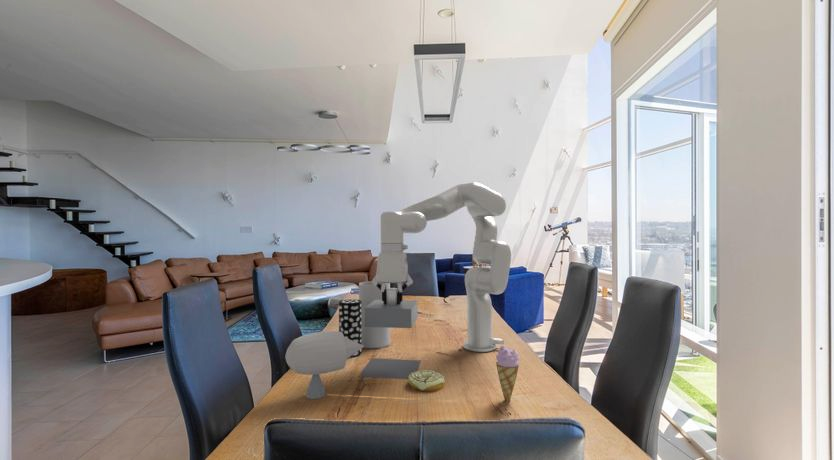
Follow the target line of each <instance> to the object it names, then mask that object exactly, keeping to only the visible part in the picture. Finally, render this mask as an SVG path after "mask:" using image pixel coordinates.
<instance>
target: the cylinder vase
mask: <svg viewBox="0 0 834 460" xmlns="http://www.w3.org/2000/svg"><path fill="white" fill-rule="evenodd" d="M379 283H380V282H379ZM381 284H382V283H381ZM388 288H391V283H387V286H386V289H388ZM358 300H361V302H362V345H363V346H364V347H363V348H365V349H382V348H387V347H388V346H390V344H391V328H387V327H365V307H366V306H368V305H369V304H370V303H372V302H373V301H374V300H382V292H381V290H380V289H379V288H378V287H377V286H375V285H374V284H373V283H372V280H371V281H370V280H369V281H362V282H359V283H358Z"/></svg>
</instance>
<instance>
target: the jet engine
mask: <svg viewBox="0 0 834 460" xmlns="http://www.w3.org/2000/svg"><path fill="white" fill-rule="evenodd" d="M363 348H364V346H363V345H361V344H359V343H357V342H354V341H352V340H350V339H347V338H345V337H344V335H343V333H342V332H340V331H339V330H337V331H335V330H334V331H317V332H312V333H311V332H310V333H307V334H303V335H301V336H299V337H297V338H294V339H293V340H292V341H291V343H290V344H289V346H288V347H287V349H286V353H285V362H286V364H287V366H288V367H289V368H290V369H291V370H292V371H293V372H294V373H296V374H300V375H309V376H311V379H310V381H309V385H308V387H307V390H306V394H305V395H306V399H307V398H308V399H311V400H315V399H321V398H323V397H325V396H327V393H326V390H325V387H324V384H323V382H322V379H321V375H322V374H329V373H332V372H336V371H340V370H343V369H344V368H345V367H346V364H347V360H348V359H349V357H351V356H352V355H353V354H355V353H356V352H358V351H359V350H360V349H362V350H363Z"/></svg>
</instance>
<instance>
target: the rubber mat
mask: <svg viewBox="0 0 834 460" xmlns="http://www.w3.org/2000/svg"><path fill="white" fill-rule="evenodd" d="M421 362H422V360H421V359H397V358H373V357H372V358H370V360H369V361H368V362H367V364H366V365H365V367H364V368H362V371H361V372H360V373H359V374H358V376H357V377H358V378H375V379H376V378H377V379H380V378H381V379H397V380H398V379H399V380H408V378H409V375H410V374H411V373H413V372H416V371H419V368H420V366H421Z"/></svg>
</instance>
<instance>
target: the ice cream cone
mask: <svg viewBox="0 0 834 460" xmlns="http://www.w3.org/2000/svg"><path fill="white" fill-rule="evenodd" d="M498 350H499V351H498V352H497V354H496V362H495V365H496V369H497V376H498V379H499V380H498V381H499V384H500V388H501V390H502V391H501V392H502V395H503V398H504V399H503V400H504V401H505V402H510V401H511V399H512V395H513V391H514V388H515V385H516V380H517V377H518V371H519V365H520V360H519V353H518V351H516V350H515V349H513V350H512V348H511V347H508V346H504V345H501V346H500V347H499V348H498Z"/></svg>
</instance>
